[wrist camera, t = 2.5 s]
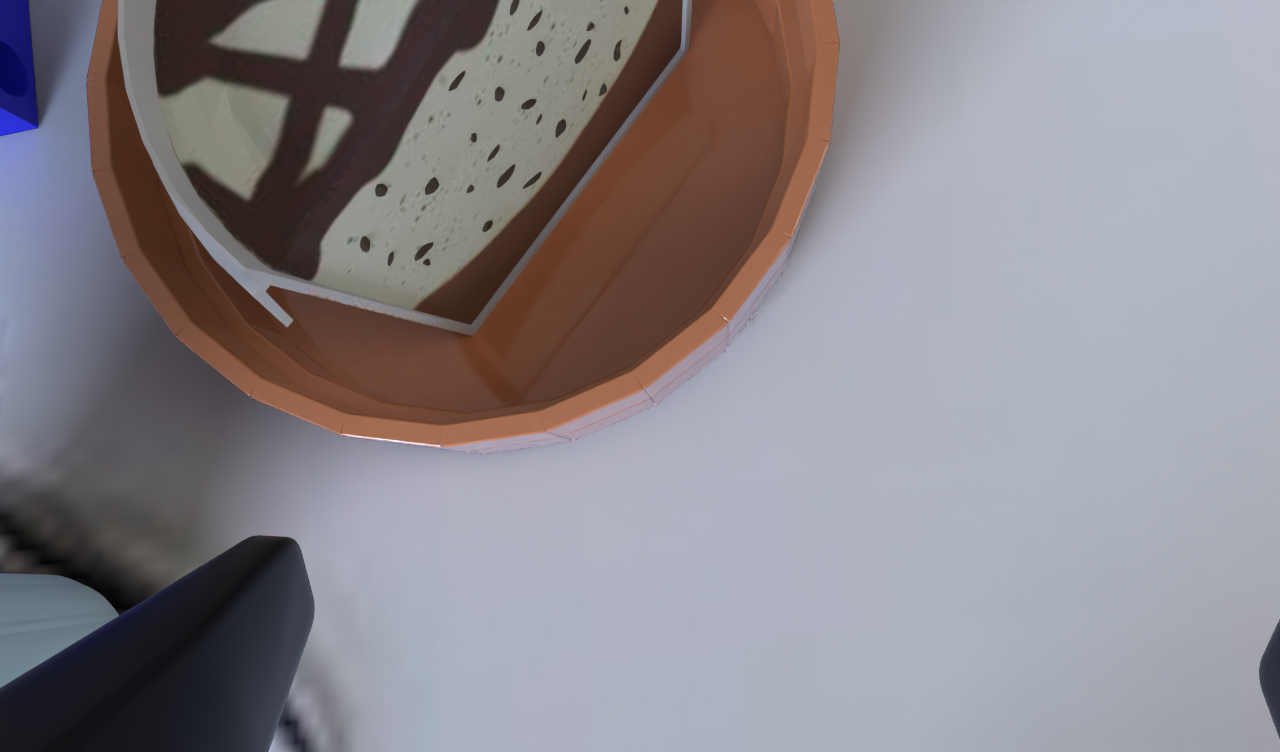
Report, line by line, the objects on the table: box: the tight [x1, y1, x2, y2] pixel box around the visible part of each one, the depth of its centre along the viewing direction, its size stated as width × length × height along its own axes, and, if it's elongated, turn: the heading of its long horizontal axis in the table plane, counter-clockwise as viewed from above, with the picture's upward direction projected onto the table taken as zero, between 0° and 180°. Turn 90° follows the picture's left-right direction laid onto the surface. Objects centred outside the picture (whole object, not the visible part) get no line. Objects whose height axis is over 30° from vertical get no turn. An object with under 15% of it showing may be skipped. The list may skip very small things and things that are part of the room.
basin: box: [87, 0, 840, 454], centre depth 22 cm, size 17×17×4 cm
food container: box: [118, 0, 692, 336], centre depth 18 cm, size 12×6×10 cm, turn 143°
